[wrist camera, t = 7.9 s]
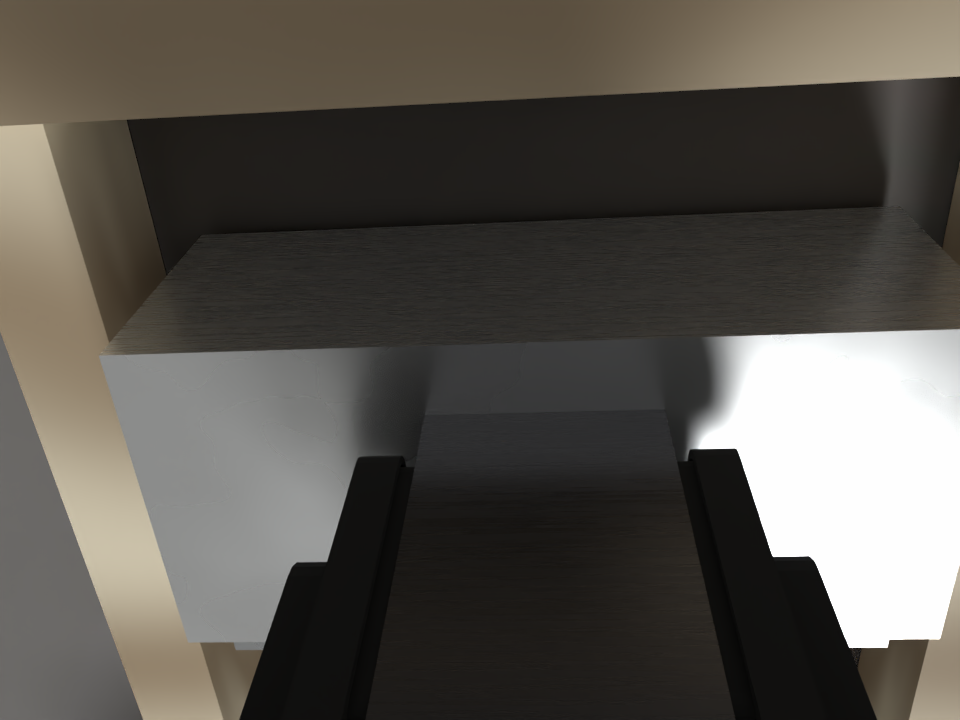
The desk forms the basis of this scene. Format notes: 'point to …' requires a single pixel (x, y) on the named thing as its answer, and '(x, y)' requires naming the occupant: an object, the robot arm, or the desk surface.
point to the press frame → (334, 85)
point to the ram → (552, 438)
